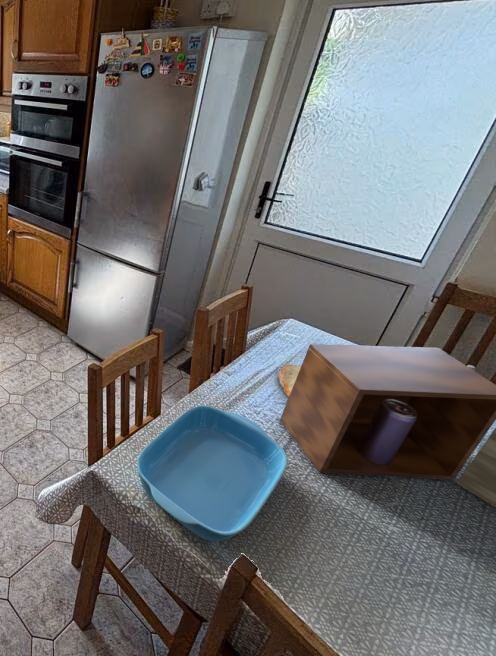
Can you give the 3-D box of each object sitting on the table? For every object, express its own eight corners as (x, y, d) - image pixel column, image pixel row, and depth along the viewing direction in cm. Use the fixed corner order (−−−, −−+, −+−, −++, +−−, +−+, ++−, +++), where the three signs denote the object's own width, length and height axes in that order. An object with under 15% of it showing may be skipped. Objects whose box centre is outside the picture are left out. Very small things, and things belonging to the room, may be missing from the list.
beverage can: (387, 471, 92) (416, 422, 86) (353, 454, 97) (379, 406, 90) (392, 457, 96) (421, 408, 89) (360, 441, 100) (384, 394, 94)
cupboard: (453, 480, 92) (512, 395, 81) (319, 472, 94) (360, 389, 83) (395, 425, 106) (438, 347, 96) (279, 419, 108) (310, 343, 98)
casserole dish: (218, 579, 74) (228, 556, 71) (114, 492, 90) (118, 469, 87) (292, 469, 95) (302, 447, 92) (197, 413, 111) (202, 393, 108)
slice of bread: (322, 422, 107) (327, 411, 106) (256, 380, 122) (260, 370, 121) (362, 401, 114) (367, 391, 112) (295, 364, 129) (299, 354, 127)
